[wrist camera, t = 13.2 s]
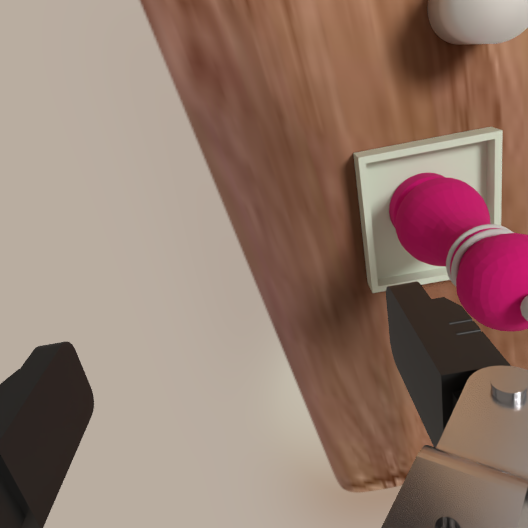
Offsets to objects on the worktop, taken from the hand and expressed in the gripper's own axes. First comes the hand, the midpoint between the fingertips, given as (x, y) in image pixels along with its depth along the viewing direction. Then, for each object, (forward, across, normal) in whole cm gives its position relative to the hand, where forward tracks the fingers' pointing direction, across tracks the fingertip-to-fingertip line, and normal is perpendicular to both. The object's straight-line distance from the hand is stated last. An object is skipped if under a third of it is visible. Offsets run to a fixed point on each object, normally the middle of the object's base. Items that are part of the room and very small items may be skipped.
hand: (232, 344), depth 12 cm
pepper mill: (+32, -15, +9) cm, 36 cm away
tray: (+32, -15, +10) cm, 37 cm away
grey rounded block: (+32, -19, -7) cm, 38 cm away
